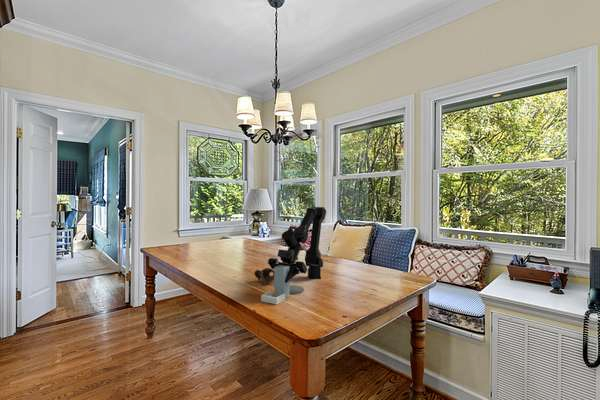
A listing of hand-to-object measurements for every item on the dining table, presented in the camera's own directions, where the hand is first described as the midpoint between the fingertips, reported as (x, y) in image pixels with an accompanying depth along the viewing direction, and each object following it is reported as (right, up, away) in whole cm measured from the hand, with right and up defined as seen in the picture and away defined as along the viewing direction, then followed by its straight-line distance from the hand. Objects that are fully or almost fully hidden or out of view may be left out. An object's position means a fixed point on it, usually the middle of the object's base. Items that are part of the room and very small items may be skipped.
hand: (280, 281), depth 128 cm
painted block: (+1, -7, +1) cm, 7 cm away
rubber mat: (+5, -7, +9) cm, 12 cm away
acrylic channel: (-2, -7, -4) cm, 8 cm away
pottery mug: (-9, -7, +22) cm, 25 cm away
